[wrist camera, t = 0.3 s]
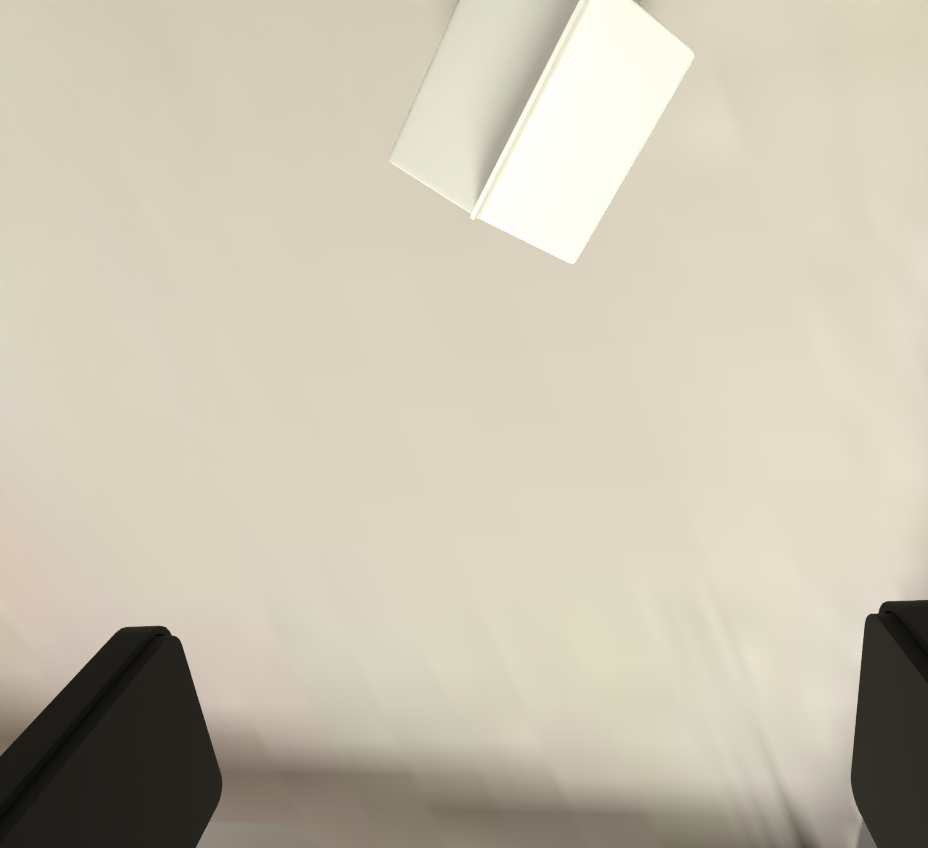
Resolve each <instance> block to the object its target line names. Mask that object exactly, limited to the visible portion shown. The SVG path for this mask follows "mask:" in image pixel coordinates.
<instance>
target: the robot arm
mask: <svg viewBox="0 0 928 848" xmlns="http://www.w3.org/2000/svg"><path fill="white" fill-rule="evenodd" d="M851 785H852V791H853V795H854V799H855V802H856V805H857V807H858V809H859V812H860V814H861V816H862V818H863V820H864V822H865V823H866V825H867V828H868V829H869V832H870V833H871V836H872V838H873V839H874V842H875V843H876V846H877V848H928V600H916V601H887V602H885V603H882V605H881V607H880V609H879V613H878V614H870V615H868V616H867V618H866V621H865V628H864V639H863V649H862V660H861V671H860V682H859V693H858V704H857V714H856V725H855V736H854V747H853V758H852V769H851ZM221 791H222V777H221V773H220V770H219V766H218V763H217V760H216V756H215V753H214V750H213V746H212V743H211V740H210V736H209V733H208V730H207V726H206V723H205V720H204V716H203V713H202V710H201V706H200V703H199V700H198V696H197V693H196V690H195V687H194V683H193V680H192V677H191V673H190V670H189V667H188V663H187V660H186V657H185V653H184V650H183V647H182V644H181V642H180V640H179V639H178V638H177V637H176V636H172V635H171V633H170V631H169V630H168V629H167V628H166V627H163V626H141V627H125V628H121V629H120V630H119V631H118V632H116V633H115V634H114V635H113V636H112V637H111V639H110V640H109V641H108V642H107V643H106V644H105V645H104V646H103V647H102V648H101V649H100V650H99V651H98V652H97V653H96V655H95V656H94V657H93V658H92V659H91V660H90V661H89V662H88V663H87V664H86V665H85V666H84V667H83V668H82V670H81V671H80V672H79V673H78V674H77V675H76V676H75V677H74V678H73V679H72V680H71V681H70V682H69V683H68V685H67V686H66V687H65V688H64V689H63V690H62V691H61V692H60V693H59V694H58V695H57V696H56V697H55V698H54V699H53V701H52V702H51V703H50V704H49V705H48V706H47V707H46V708H45V709H44V710H43V711H42V712H41V713H40V714H39V716H38V717H37V718H36V719H35V720H34V721H33V722H32V723H31V724H30V725H29V726H28V727H27V728H26V729H25V731H24V732H23V733H22V734H21V735H20V736H19V737H18V738H17V739H16V740H15V741H14V742H13V743H12V744H11V745H10V747H9V748H8V749H7V750H6V751H5V752H4V753H3V754H2V755H1V756H0V848H196V846H197V844H198V842H199V840H200V838H201V836H202V834H203V832H204V830H205V828H206V827H207V825H208V823H209V821H210V819H211V817H212V815H213V813H214V811H215V809H216V807H217V805H218V803H219V800H220V796H221Z"/></svg>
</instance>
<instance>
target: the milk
mask: <svg viewBox="0 0 928 848" xmlns="http://www.w3.org/2000/svg"><path fill="white" fill-rule="evenodd" d="M694 57H695V52H694V51H693V50H692V49H691V48H690V47H689V46H688V45H687V44H686V43H684V42H683V41H682V40H681V39H680V38H678V37H677V36H676V35H675V34H674V33H672V32H671V31H670V30H669V29H668V28H666V27H665V26H664V25H663V24H662V23H661V22H659V21H658V20H657V19H656V18H655V17H653V16H652V15H651V14H650V13H649V12H647V11H646V10H645V9H644V8H643V7H641V6H640V5H639V4H638V3H637V2H635V1H634V0H459V2H458V4H457V6H456V8H455V11H454V13H453V15H452V17H451V19H450V22H449V24H448V26H447V28H446V31H445V33H444V35H443V37H442V40H441V42H440V44H439V46H438V48H437V51H436V53H435V55H434V57H433V60H432V62H431V64H430V66H429V69H428V71H427V73H426V75H425V77H424V80H423V82H422V84H421V86H420V89H419V91H418V93H417V95H416V98H415V100H414V102H413V104H412V106H411V109H410V111H409V113H408V115H407V118H406V120H405V122H404V124H403V127H402V129H401V131H400V133H399V135H398V138H397V140H396V142H395V144H394V147H393V149H392V151H391V153H390V156H389V161H390V162H391V163H392V164H394V165H395V166H397V167H398V168H400V169H401V170H403V171H405V172H406V173H408V174H409V175H411V176H412V177H414V178H416V179H417V180H419V181H420V182H422V183H424V184H425V185H427V186H428V187H430V188H431V189H433V190H435V191H436V192H438V193H439V194H441V195H442V196H444V197H446V198H447V199H449V200H450V201H452V202H453V203H455V204H457V205H458V206H460V207H461V208H463V209H464V210H466V211H468V212H469V213H471V217H470V218H471V219H473V220H474V219H476V218H479V219H481V220H483V221H485V222H487V223H489V224H491V225H493V226H495V227H497V228H499V229H502V230H504V231H506V232H508V233H510V234H512V235H514V236H516V237H518V238H520V239H522V240H524V241H526V242H528V243H530V244H532V245H534V246H536V247H538V248H540V249H542V250H544V251H546V252H548V253H550V254H552V255H554V256H556V257H558V258H560V259H562V260H564V261H566V262H568V263H571V264H574V263H575V262H576V261H577V259H578V258H579V256H580V254H581V253H582V251H583V249H584V247H585V246H586V244H587V242H588V240H589V239H590V237H591V235H592V234H593V232H594V230H595V228H596V227H597V225H598V223H599V222H600V220H601V218H602V216H603V215H604V213H605V211H606V209H607V208H608V206H609V204H610V203H611V201H612V199H613V197H614V196H615V194H616V192H617V191H618V189H619V187H620V185H621V184H622V182H623V180H624V179H625V177H626V175H627V173H628V172H629V170H630V168H631V166H632V165H633V163H634V161H635V160H636V158H637V156H638V154H639V153H640V151H641V149H642V148H643V146H644V144H645V142H646V141H647V139H648V137H649V136H650V134H651V132H652V130H653V129H654V127H655V125H656V123H657V122H658V120H659V118H660V117H661V115H662V113H663V111H664V110H665V108H666V106H667V105H668V103H669V101H670V99H671V98H672V96H673V94H674V93H675V91H676V89H677V87H678V86H679V84H680V82H681V80H682V79H683V77H684V75H685V74H686V72H687V70H688V68H689V67H690V65H691V63H692V61H693V60H694Z"/></svg>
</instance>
